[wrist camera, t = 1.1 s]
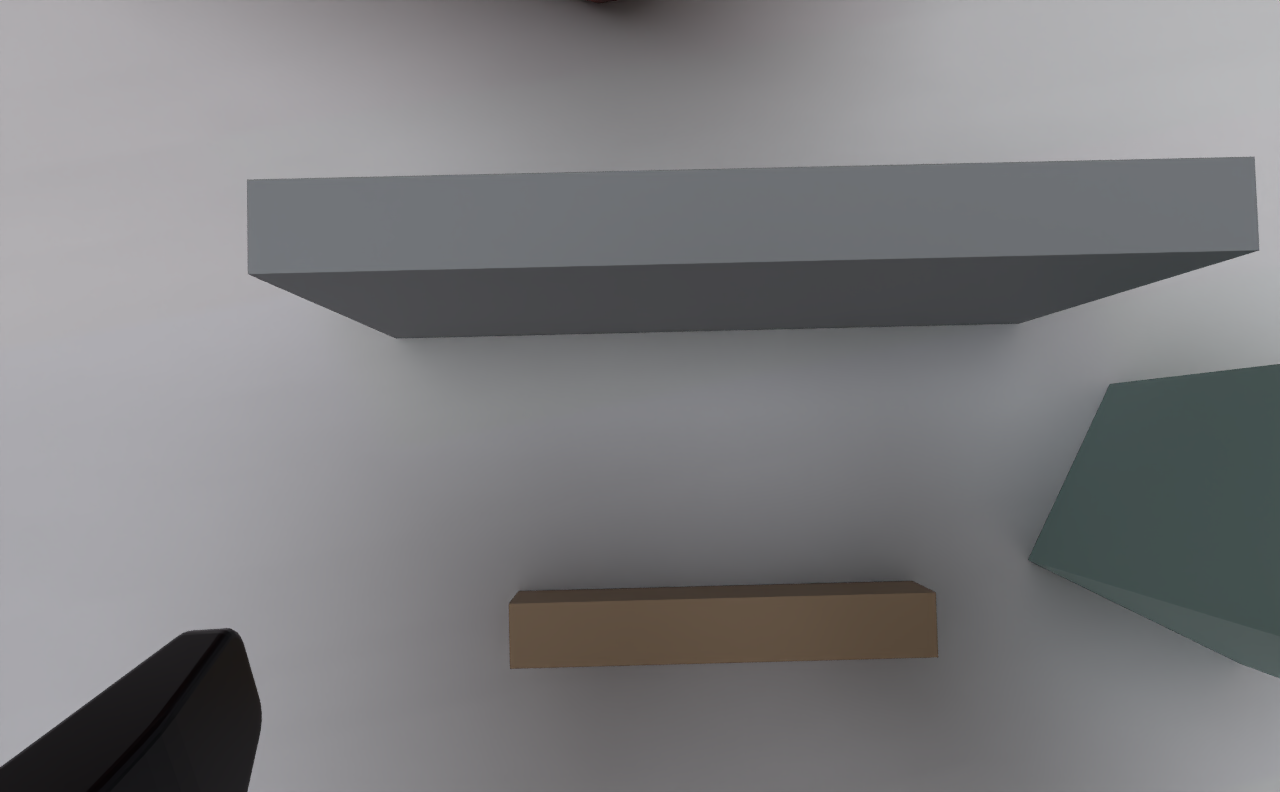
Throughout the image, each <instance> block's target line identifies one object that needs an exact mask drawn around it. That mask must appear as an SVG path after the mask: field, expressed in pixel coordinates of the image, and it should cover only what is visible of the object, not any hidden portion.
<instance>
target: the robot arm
mask: <svg viewBox="0 0 1280 792" xmlns="http://www.w3.org/2000/svg"><path fill="white" fill-rule="evenodd" d="M261 722H262V711H261V703H260V699H259V695H258V692H257V688H256V685H255V681H254V678H253V674H252V671H251V667H250V664H249V660H248V657H247V653H246V650H245V646H244V643H243V641H242V639H241V637H240V635H239V634H238V633H237V632H236V631H234V630H232V629H229V628H224V629H207V630H193V631H187V632H184V633H182V634H181V635H179V636H178V637H176V638H175V639H173V640H172V641H171V642H169V643H168V644H167V645H165V646H164V647H163V648H161V649H160V650H159V651H157V652H156V653H154V654H153V655H152V656H150V657H149V658H148V659H146V660H145V661H144V662H142V663H141V664H140V665H138V666H137V667H136V668H134V669H133V670H131V671H130V672H129V673H127V674H126V675H125V676H123V677H122V678H121V679H119V680H118V681H117V682H115V683H114V684H112V685H111V686H110V687H108V688H107V689H106V690H104V691H103V692H102V693H100V694H99V695H98V696H96V697H95V698H94V699H92V700H91V701H89V702H88V703H87V704H85V705H84V706H83V707H81V708H80V709H79V710H77V711H76V712H75V713H73V714H72V715H70V716H69V717H68V718H66V719H65V720H64V721H62V722H61V723H60V724H58V725H57V726H56V727H54V728H53V729H52V730H50V731H49V732H47V733H46V734H45V735H43V736H42V737H41V738H39V739H38V740H37V741H35V742H34V743H33V744H31V745H30V746H28V747H27V748H26V749H24V750H23V751H22V752H20V753H19V754H18V755H16V756H15V757H14V758H12V759H11V760H10V761H8V762H7V763H5V764H4V765H3V766H1V767H0V792H247V791H248V786H249V782H250V777H251V772H252V768H253V763H254V759H255V754H256V750H257V745H258V741H259V736H260V731H261Z"/></svg>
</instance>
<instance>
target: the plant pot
mask: <svg viewBox="0 0 1280 792" xmlns="http://www.w3.org/2000/svg"><path fill="white" fill-rule="evenodd" d="M587 1H591V2H596V3H604V2H611V1H616V0H587Z"/></svg>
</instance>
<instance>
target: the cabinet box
mask: <svg viewBox="0 0 1280 792" xmlns="http://www.w3.org/2000/svg"><path fill="white" fill-rule="evenodd" d="M1028 560H1029V561H1031V562H1033V563H1035V564H1037V565H1039V566H1041V567H1043V568H1045V569H1047V570H1049V571H1051V572H1053V573H1055V574H1057V575H1060V576H1062V577H1064V578H1066V579H1068V580H1070V581H1072V582H1074V583H1076V584H1078V585H1080V586H1082V587H1084V588H1086V589H1088V590H1090V591H1092V592H1094V593H1096V594H1099V595H1101V596H1103V597H1105V598H1107V599H1109V600H1111V601H1113V602H1115V603H1117V604H1119V605H1121V606H1123V607H1125V608H1127V609H1129V610H1131V611H1133V612H1136V613H1138V614H1140V615H1142V616H1144V617H1146V618H1148V619H1150V620H1152V621H1154V622H1156V623H1158V624H1160V625H1162V626H1164V627H1166V628H1168V629H1170V630H1173V631H1175V632H1177V633H1179V634H1181V635H1183V636H1185V637H1187V638H1189V639H1191V640H1193V641H1195V642H1197V643H1199V644H1201V645H1203V646H1205V647H1207V648H1209V649H1212V650H1214V651H1216V652H1218V653H1220V654H1222V655H1224V656H1226V657H1228V658H1230V659H1232V660H1234V661H1236V662H1238V663H1240V664H1243V665H1245V666H1248V667H1251V668H1254V669H1256V670H1259V671H1262V672H1264V673H1267V674H1270V675H1273V676H1275V677H1278V678H1280V364H1277V365H1268V366H1260V367H1251V368H1242V369H1234V370H1225V371H1217V372H1208V373H1200V374H1191V375H1183V376H1174V377H1166V378H1157V379H1149V380H1140V381H1132V382H1123V383H1115V384H1110V385H1109V387H1108V390H1107V392H1106V394H1105V396H1104V398H1103V400H1102V402H1101V405H1100V407H1099V409H1098V411H1097V413H1096V415H1095V417H1094V420H1093V422H1092V424H1091V426H1090V428H1089V430H1088V432H1087V435H1086V437H1085V439H1084V441H1083V443H1082V445H1081V447H1080V450H1079V452H1078V454H1077V456H1076V458H1075V460H1074V462H1073V465H1072V467H1071V469H1070V471H1069V473H1068V475H1067V477H1066V480H1065V482H1064V484H1063V486H1062V488H1061V490H1060V493H1059V495H1058V497H1057V499H1056V501H1055V503H1054V505H1053V508H1052V510H1051V512H1050V514H1049V516H1048V518H1047V520H1046V523H1045V525H1044V527H1043V529H1042V531H1041V533H1040V535H1039V538H1038V540H1037V542H1036V544H1035V546H1034V548H1033V550H1032V553H1031V555H1030V557H1029V559H1028Z"/></svg>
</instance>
